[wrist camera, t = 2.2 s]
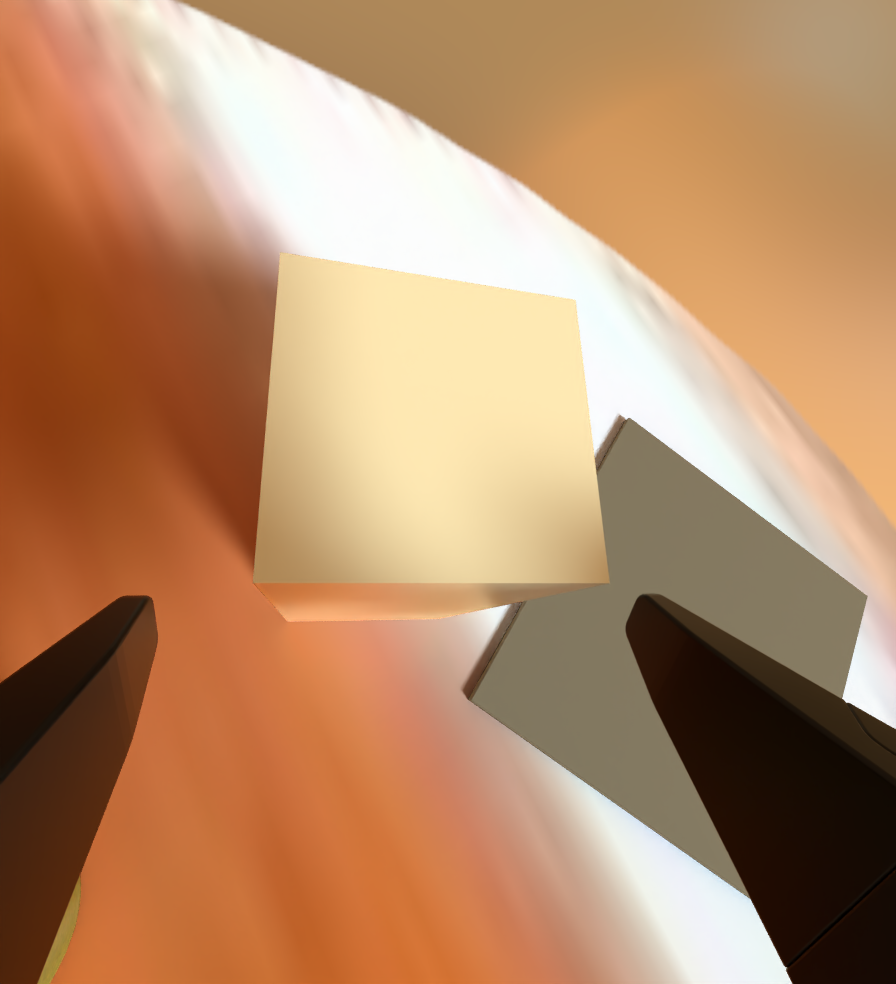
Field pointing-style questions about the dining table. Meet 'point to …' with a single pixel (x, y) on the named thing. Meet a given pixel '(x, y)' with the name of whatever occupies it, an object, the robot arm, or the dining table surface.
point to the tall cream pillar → (422, 448)
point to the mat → (693, 585)
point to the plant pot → (62, 937)
